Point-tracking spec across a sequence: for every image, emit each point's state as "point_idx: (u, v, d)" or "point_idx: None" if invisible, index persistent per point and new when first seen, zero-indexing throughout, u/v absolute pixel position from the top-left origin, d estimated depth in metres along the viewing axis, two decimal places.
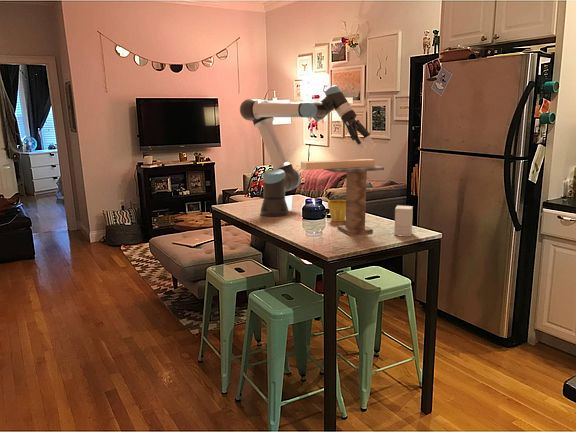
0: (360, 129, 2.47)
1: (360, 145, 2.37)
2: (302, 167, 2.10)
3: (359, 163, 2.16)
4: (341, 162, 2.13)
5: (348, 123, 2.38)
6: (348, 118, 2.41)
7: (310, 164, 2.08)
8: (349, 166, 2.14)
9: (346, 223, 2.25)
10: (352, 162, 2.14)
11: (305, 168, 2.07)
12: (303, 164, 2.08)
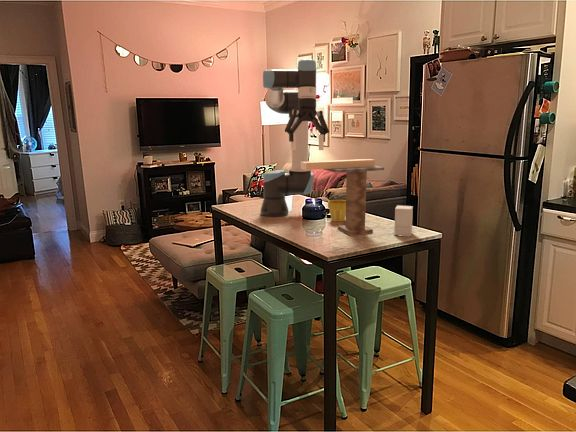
0: (315, 123, 2.03)
1: (292, 143, 1.99)
2: (302, 167, 2.10)
3: (359, 163, 2.16)
4: (341, 162, 2.13)
5: (293, 112, 1.98)
6: (300, 106, 1.99)
7: (310, 164, 2.08)
8: (349, 166, 2.14)
9: (346, 223, 2.25)
10: (352, 162, 2.14)
11: (305, 168, 2.07)
12: (303, 164, 2.08)
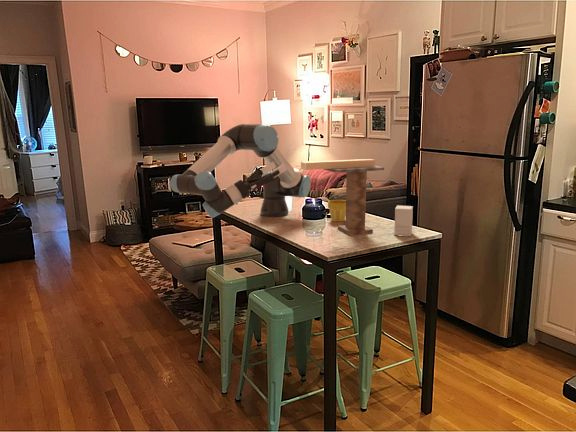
0: None
1: None
2: (302, 167, 2.10)
3: (359, 163, 2.16)
4: (341, 162, 2.13)
5: None
6: None
7: (310, 164, 2.08)
8: (349, 166, 2.14)
9: (346, 223, 2.25)
10: (352, 162, 2.14)
11: (305, 168, 2.07)
12: (303, 164, 2.08)
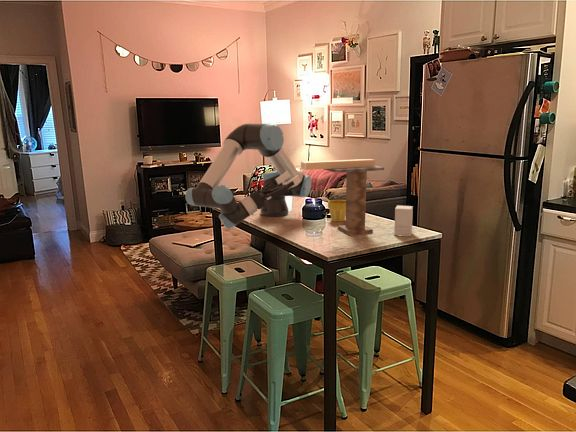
0: None
1: None
2: (302, 167, 2.10)
3: (359, 163, 2.16)
4: (341, 162, 2.13)
5: None
6: None
7: (310, 164, 2.08)
8: (349, 166, 2.14)
9: (346, 223, 2.25)
10: (352, 162, 2.14)
11: (305, 168, 2.07)
12: (303, 164, 2.08)
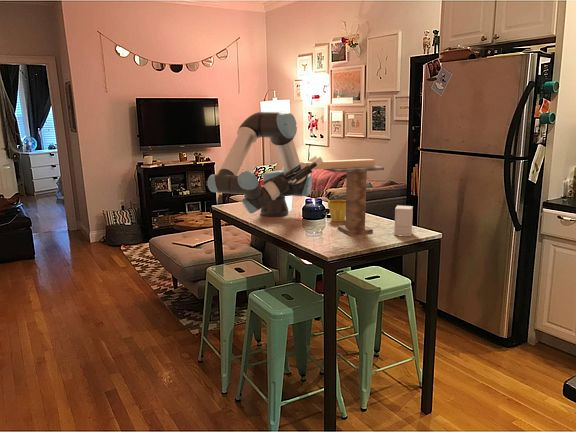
0: None
1: None
2: (302, 167, 2.10)
3: (359, 163, 2.16)
4: (341, 162, 2.13)
5: None
6: None
7: None
8: (349, 166, 2.14)
9: (346, 223, 2.25)
10: (352, 162, 2.14)
11: None
12: (303, 164, 2.08)
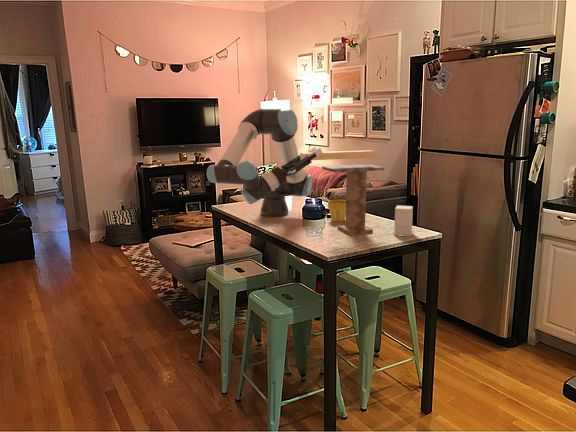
0: None
1: None
2: (302, 158, 2.09)
3: (359, 154, 2.15)
4: (341, 153, 2.12)
5: None
6: None
7: None
8: (349, 157, 2.13)
9: (346, 223, 2.25)
10: (351, 153, 2.13)
11: None
12: (303, 155, 2.07)
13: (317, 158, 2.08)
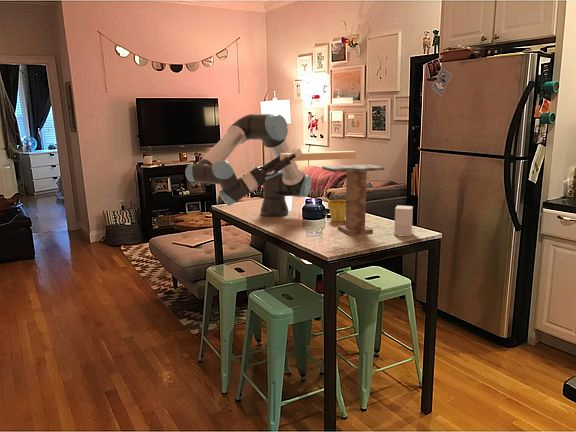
0: None
1: None
2: (281, 159, 2.06)
3: (339, 155, 2.12)
4: (321, 154, 2.09)
5: None
6: None
7: None
8: (329, 158, 2.10)
9: (346, 223, 2.25)
10: (332, 154, 2.10)
11: None
12: (282, 155, 2.04)
13: (297, 159, 2.05)
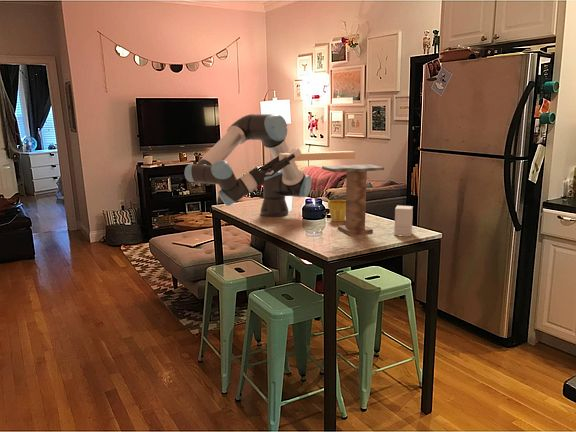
0: None
1: None
2: (280, 159, 2.05)
3: (339, 155, 2.11)
4: (320, 154, 2.08)
5: None
6: None
7: None
8: (329, 158, 2.10)
9: (346, 223, 2.25)
10: (331, 154, 2.10)
11: None
12: (281, 156, 2.04)
13: (296, 159, 2.05)
